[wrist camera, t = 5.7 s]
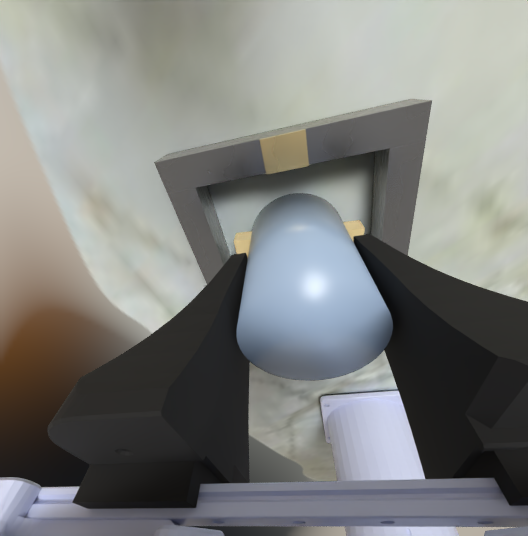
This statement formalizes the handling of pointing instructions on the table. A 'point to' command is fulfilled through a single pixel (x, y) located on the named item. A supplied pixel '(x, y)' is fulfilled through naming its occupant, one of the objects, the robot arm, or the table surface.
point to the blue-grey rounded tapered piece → (308, 293)
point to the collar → (301, 155)
